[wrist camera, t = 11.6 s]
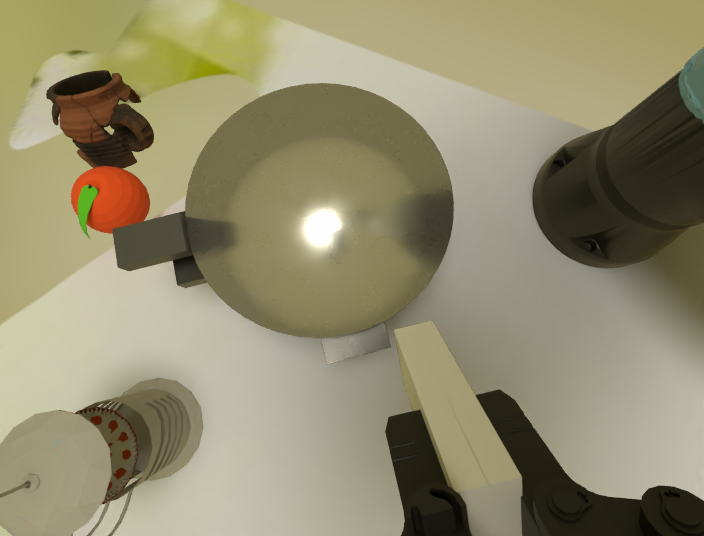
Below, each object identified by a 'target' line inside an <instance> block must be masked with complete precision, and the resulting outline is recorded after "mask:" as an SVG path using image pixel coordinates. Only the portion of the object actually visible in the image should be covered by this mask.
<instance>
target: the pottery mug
mask: <svg viewBox="0 0 704 536" xmlns="http://www.w3.org/2000/svg"><path fill="white" fill-rule="evenodd" d="M112 77H113V79H112ZM112 77H111V75H110V73H109V71H106V70H102V71H92V72H86V73H82V74H79V75H75V76H72V77H69V78H66V79H64V80H62V81H60V82H57V83H56V84H54V85H53V86H52V87H50V88H49V89H48V90H47V93H46V95H47V99H50V100H51V101H52V102H53V106H52V117H53V122H54V124H55V125H58V117H59V114H60V128H61V129H62V130H63V132H64V134H65V135H66V136H68V137H70V138H72V139H73V142H74V143H75V145H76V146H77V147H78V148H79V149H80V150H78V151H77V153H78V155H79V156H80V157H81V158H82V159H84V160H85V161H86V162H87V163H88V164H89V165H90V166H92V167H93V168H96V167H101V166H109V167H118V168H121V169H122V168H126V167H128V166H131V165H133V164H135V163H137V160H136V159H135V157H134V156H133V153H132V151H134V152H140V151H142V150H144V149H146V148H149V147H150V146H151V145H152V143H153V140H154V133H153V130H152V127H151V126H150V124H149V122H148V121H147V120H146V119H145V118H144V117H143V116H142V115H141V114H139V113H138V112H136V111H135V110H134V109H132V108H131V107H130V106H129V105H127V104H120V105H118V102H119V100H122V101H124V102H126V101H127V100H128V99H129V100H130V101H131V102H133V103H139V102H141V100H140V98H139V96H138V95H137V94H136V93H135V91H134V90H133V89H131V88H130V86H129V85H126V84H124V83H123V81H122V77H121V75H120V74H119V73H113V74H112ZM109 125H110V126H111V128H113V129H114V130H115V131H114V133H113V135H110V134H109V133H108V132H107V131H106V130H105V129H104V127H108V126H109Z"/></svg>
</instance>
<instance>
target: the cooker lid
mask: <svg viewBox="0 0 704 536" xmlns="http://www.w3.org/2000/svg"><path fill="white" fill-rule="evenodd" d="M453 206H454V202H453V193H452V186H451V182H450V178H449V174H448V170H447V168H446V165H445V163H444V161H443V158H442V156H441V154H440V152H439V150H438V149H437V147H436V145H435V143H434V142H433V140H432V139H431V138H430V136H429V135H428V134H427V132H426V131H425V130H424V129H423V128H422V127H421V126H420V124H419V123H418V122H417V121H416V120H415V119H414V118H413V117H411V116H410V115H409V114H408V113H406V112H405V111H404V110H402V109H401V108H400V107H398V106H397V105H395V104H393V103H392V102H390V101H388V100H387V99H385V98H383V97H380V96H378V95H376V94H374V93H371V92H369V91H365V90H362V89H359V88H356V87H351V86H345V85H340V84H327V83H317V84H304V85H298V86H292V87H287V88H284V89H281V90H277V91H274V92H271V93H269V94H267V95H264V96H262V97H260V98H258V99H256V100H254V101H253V102H251V103H249V104H247V105H245V106H244V107H243V108H241V109H240V110H238V111H237V112H236V113H234V114H233V115H232V116H231V117H229V118H228V119H227V120H226V121H225V122H224V123H223V124H222V125H221V126H220V127H219V128H218V129H217V131H216V132H215V133H214V134H213V135H212V137H211V138H210V139H209V140H208V142H207V144H206V145H205V147H204V148H203V150H202V152H201V153H200V155H199V157H198V159H197V162H196V164H195V166H194V168H193V171H192V175H191V178H190V181H189V184H188V190H187V196H186V207H185V216H183V215H182V214H181V213H176V214H172V215H168V216H164V217H159V218H155V219H151V220H147V221H143V222H139V223H135V224H130V225H126V226H122V227H118V228H114V229H112V230H113V237H114V244H115V251H116V258H117V265H118V268H121V269H124V270H127V271H132V270H136V269H140V268H144V267H148V266H152V265H156V264H160V263H164V262H168V261H172V260H176V259H180V258H184V257H188V256H192V255H193V256H194V258H195V261H196V263H197V266H198V267H199V269H200V271H201V273H202V274H203V276H204V278H205V279H206V281H207V282H208V284H209V285H210V286H211V287H212V289H213V290H214V291H215V292H216V294H217V295H218V296H219V297H220V298H221V299H222V300H223V301H225V302H226V303H227V304H228V305H229V306H230V307H231V308H232V309H234V310H235V311H237V312H238V313H239V314H241V315H242V316H244V317H245V318H247V319H249V320H251V321H253V322H255V323H256V324H258V325H260V326H262V327H265V328H268V329H271V330H274V331H276V332H279V333H284V334H289V335H294V336H299V337H311V338H326V337H338V336H343V335H348V334H353V333H356V332H359V331H362V330H365V329H368V328H371V327H373V326H375V325H377V324H379V323H381V322H383V321H385V320H387V319H389V318H390V317H392V316H393V315H395V314H396V313H398V312H399V311H400V310H402V309H403V308H405V307H406V306H407V305H408V304H409V303H410V302H411V301H412V300H414V299H415V298H416V297H417V296H418V295H419V294H420V292H421V291H422V290H423V289H424V288H425V287H426V285H427V284H428V283H429V282H430V280H431V279H432V277H433V275H434V274H435V272H436V271H437V269H438V268H439V265H440V263H441V261H442V259H443V257H444V255H445V252H446V249H447V246H448V243H449V239H450V236H451V230H452V224H453Z"/></svg>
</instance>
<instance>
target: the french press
mask: <svg viewBox="0 0 704 536" xmlns="http://www.w3.org/2000/svg"><path fill="white" fill-rule="evenodd" d="M111 401H113V402H112V403H110V404H109V405H107V406H106V407H105V408H102V407H104V406H105V405H106V404H108V403H109V402H111ZM115 402H117V403H115ZM103 403H105V404H103ZM113 403H115V404H114V405H113V406H112V407H111V408H110V409H108V408H109V407H110V406H111V405H112V404H113ZM100 404H103V405H102V406H100V407H97V406H99V405H100ZM202 430H203V421H202V414H201V408H200V406H199V404H198V402H197V401H196V399H195V397H194V396H193V394H192V392H191V391H189V390H188V389H187V388H185V387H184V386H182V385H181V384H180V383H178V382H177V381H172V380H167V379H162V378H156V379H152V380H147V381H142V382H140V383H138V384H137V385H135V386H134V387H132V388H131V389H129V390H127V391H126V392H124V393H123V395H122V396H121V397H117V398H113V399H109V400H105V401H101V402H97V403H94V404H92V405H90V406H88V407H86V408H84V409H82V410H80V411H77V412H76V413H71V412H66V411H62V410H56V411H51V412H45V413H39V414H35V415H33V416H31V417H30V418H28V419H27V420H25V421H24V422H22V423H20V424H19V425H17V426H16V427H14V428H13V429H12V430H11V432H10V433H9V434H8V435H7V437H6V438H5V439H4V440H3V442H2V443H1V444H0V525H1V526H2V527H3V528H4V529H5V530H7V531H8V532H9V533H10V534H11V535H12V536H73V535H72V534H73V532H75V531H76V530H78V529H79V528H81V527H82V526H84V525H85V524H87V523H88V522H89V521H90V519H91V518H92V516H93V515H94V513H95V512H96V511H97V509H98V508H99V506H100V505H101V504H105V503H106V505H105V507H104V510H103V512H102V515H101V517H100V519H99V521H98V523H97V524H96V525H95V527H94V528H93V529H92V531H91V532H90V533H89V534H88V535H87V536H91V535H92V534H93V532H94V531H95V529H96V528H97V527H98V526H99V524H100V523H101V521H102V519H103V517H104V515H105V513H106V511H107V509H108V506H109V503H110V501H112V500H117V499H118V498H120V497H122V496H123V495H125V494H126V493H128V492H129V494H128V497H127V500H126V503H125V506H124V509H123V511H122V514H121V516H120V519H119V521H118V523H117V524H116V526H115V527H114V529H113V531H112V532H111V533H110V534H109V535H108V536H112V535H113V534H114V532H115V531H116V529H117V528H118V526H119V525H120V524H121V522H122V520H123V517H124V515H125V513H126V511H127V508H128V505H129V502H130V498H131V495H132V492H133V489H134V488H135V487H137V486H138V485H140V484H141V483H143V482H144V481H145V480H149V481H152V480H156V479H160V478H165V477H169V476H171V475H172V474H174V473H175V472H177V471H178V470H180V469H181V468H182V467H184V466H185V465H187V463H188V462H189V460H190V459H191V457H192V456H193V454H194V453H195V451H196V450H197V449H198V447H199V443H200V439H201V435H202ZM133 477H134V478H139V479H138V480H137V481H135V482H134V483H132V484H131V485H129V486H128V487H126V488H125V486H126V485H127V483H128V482H129V480H130V479H132V478H133Z"/></svg>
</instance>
